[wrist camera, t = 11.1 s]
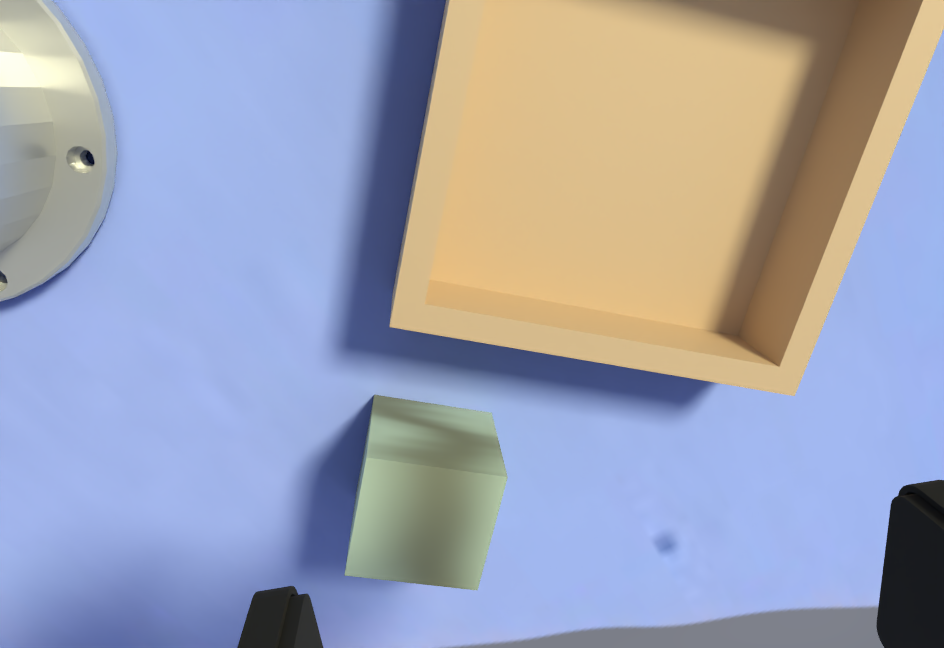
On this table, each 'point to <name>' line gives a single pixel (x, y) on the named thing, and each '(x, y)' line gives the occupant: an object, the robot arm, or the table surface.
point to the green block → (426, 494)
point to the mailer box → (654, 176)
